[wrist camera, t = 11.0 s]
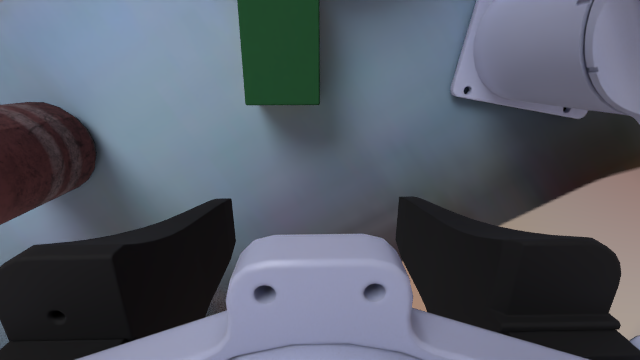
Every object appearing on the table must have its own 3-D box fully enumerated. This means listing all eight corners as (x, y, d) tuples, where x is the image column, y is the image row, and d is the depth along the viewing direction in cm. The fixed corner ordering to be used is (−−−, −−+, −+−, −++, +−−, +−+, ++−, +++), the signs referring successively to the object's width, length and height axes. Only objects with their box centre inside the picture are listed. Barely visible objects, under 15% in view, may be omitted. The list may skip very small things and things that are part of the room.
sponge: (248, -9, 19) (235, -27, 15) (318, -9, 19) (319, -27, 16) (255, 100, 21) (245, 105, 17) (318, 100, 21) (319, 105, 18)
